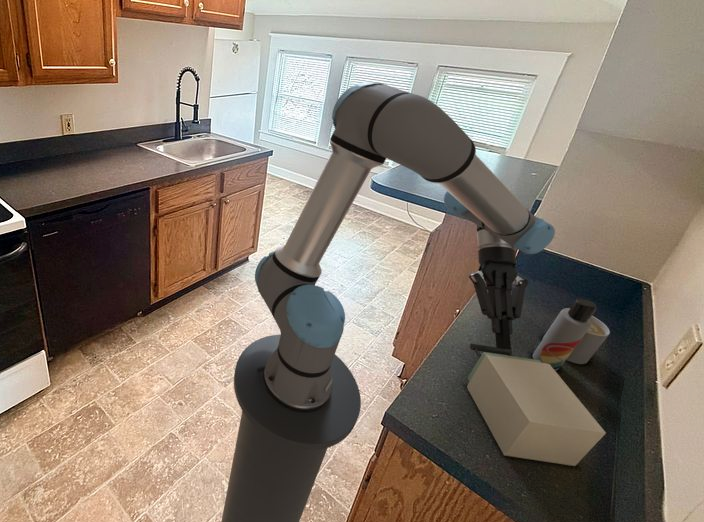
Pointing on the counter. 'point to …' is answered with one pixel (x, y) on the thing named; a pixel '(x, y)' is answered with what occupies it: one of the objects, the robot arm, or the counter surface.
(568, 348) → the lotion bottle
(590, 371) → the counter surface
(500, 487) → the counter surface
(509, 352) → the drawer
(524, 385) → the cream rectangular box
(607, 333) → the coffee mug
